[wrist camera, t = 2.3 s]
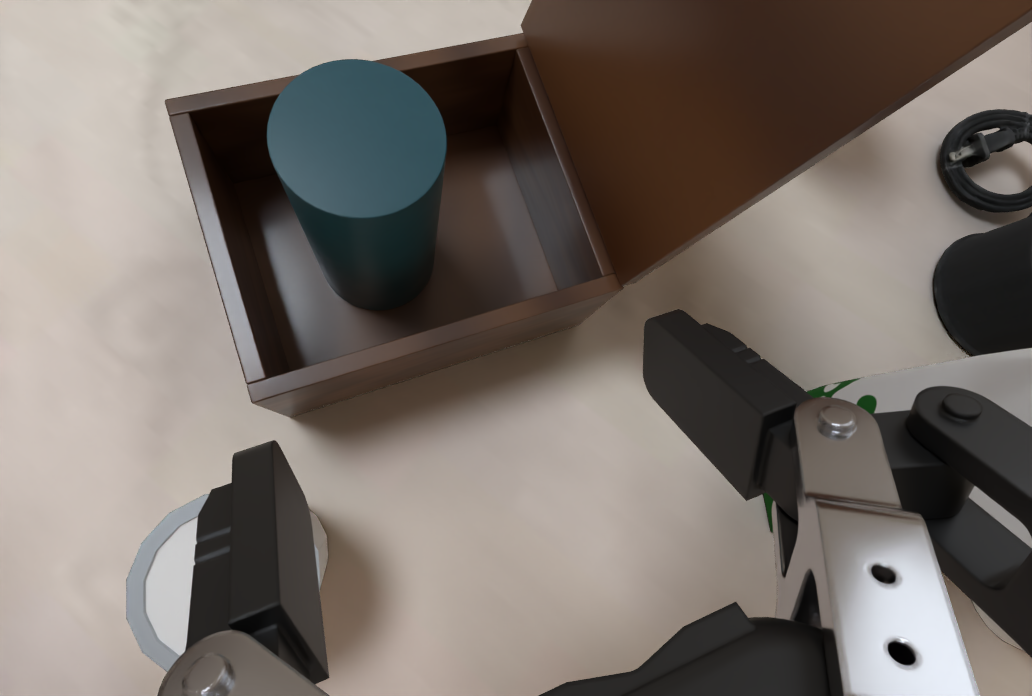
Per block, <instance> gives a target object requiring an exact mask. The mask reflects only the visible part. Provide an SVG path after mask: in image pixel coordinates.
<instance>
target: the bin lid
mask: <svg viewBox="0 0 1032 696" xmlns="http://www.w3.org/2000/svg"><path fill="white" fill-rule="evenodd" d="M1030 22H1032V0H532V2H531V4H530V6H529V8H528V10H527V13H526V15H525V17H524V19H523V21H522V24H521V27H522V30H523V33H524V35H525V38H526V40H527V43H528V46H529V48H530V51H531V53H532V56H533V59H534V61H535V64H536V66H537V69H538V72H539V74H540V77H541V79H542V82H543V85H544V87H545V90H546V92H547V95H548V97H549V100H550V103H551V105H552V108H553V110H554V113H555V116H556V118H557V121H558V123H559V126H560V129H561V131H562V134H563V136H564V139H565V142H566V144H567V147H568V149H569V152H570V155H571V157H572V160H573V162H574V165H575V168H576V170H577V173H578V175H579V178H580V181H581V183H582V186H583V188H584V191H585V193H586V196H587V199H588V201H589V204H590V206H591V209H592V212H593V214H594V217H595V219H596V222H597V225H598V227H599V230H600V232H601V235H602V238H603V240H604V243H605V245H606V248H607V251H608V253H609V256H610V258H611V261H612V264H613V266H614V269H615V271H616V274H617V277H618V279H619V282H620V284H621V286H625V285H629V284H633V283H636V282H637V281H639V280H640V279H642V278H643V277H645V276H646V275H648V274H649V273H651V272H652V271H654V270H655V269H657V268H658V267H660V266H661V265H663V264H664V263H666V262H667V261H669V260H670V259H672V258H673V257H675V256H677V255H678V254H680V253H681V252H683V251H684V250H686V249H687V248H689V247H690V246H692V245H693V244H695V243H696V242H698V241H699V240H701V239H702V238H704V237H705V236H707V235H708V234H710V233H711V232H713V231H714V230H716V229H717V228H719V227H721V226H722V225H724V224H725V223H727V222H728V221H730V220H731V219H733V218H734V217H736V216H737V215H739V214H740V213H742V212H743V211H745V210H746V209H748V208H749V207H751V206H752V205H754V204H755V203H757V202H758V201H760V200H762V199H763V198H765V197H766V196H768V195H769V194H771V193H772V192H774V191H775V190H777V189H778V188H780V187H781V186H783V185H784V184H786V183H787V182H789V181H790V180H792V179H793V178H795V177H796V176H798V175H799V174H801V173H803V172H804V171H806V170H807V169H809V168H810V167H812V166H813V165H815V164H816V163H818V162H819V161H821V160H822V159H824V158H825V157H827V156H828V155H830V154H831V153H833V152H834V151H836V150H837V149H839V148H840V147H842V146H844V145H845V144H847V143H848V142H850V141H851V140H853V139H854V138H856V137H857V136H859V135H860V134H862V133H863V132H865V131H866V130H868V129H869V128H871V127H872V126H874V125H875V124H877V123H878V122H880V121H881V120H883V119H885V118H886V117H888V116H889V115H891V114H892V113H894V112H895V111H897V110H898V109H900V108H901V107H903V106H904V105H906V104H907V103H909V102H910V101H912V100H913V99H915V98H916V97H918V96H919V95H921V94H922V93H924V92H926V91H927V90H929V89H930V88H932V87H933V86H935V85H936V84H938V83H939V82H941V81H942V80H944V79H945V78H947V77H948V76H950V75H951V74H953V73H954V72H956V71H957V70H959V69H960V68H962V67H963V66H965V65H966V64H968V63H970V62H971V61H973V60H974V59H976V58H977V57H979V56H980V55H982V54H983V53H985V52H986V51H988V50H989V49H991V48H992V47H994V46H995V45H997V44H998V43H1000V42H1001V41H1003V40H1004V39H1006V38H1007V37H1009V36H1011V35H1012V34H1014V33H1015V32H1017V31H1018V30H1020V29H1021V28H1023V27H1024V26H1026V25H1027V24H1029V23H1030Z"/></svg>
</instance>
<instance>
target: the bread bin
mask: <svg viewBox="0 0 1032 696" xmlns="http://www.w3.org/2000/svg"><path fill="white" fill-rule="evenodd" d="M372 62H377V63H381V64H384V65H387V66H390V67H392V68H394V69H396V70H398V71H400V72H402V73H404V74H405V75H407V76H409V77H410V78H411V79H413V80H414V81H415V82H416V83H418V84H419V85H420V86H421V87H422V88H423V89H424V90H425V91H426V92H427V93H428V95H429V96H430V97H431V99H432V100H433V101H434V103H435V105H436V106H437V108H438V110H439V112H440V114H441V116H442V119H443V122H444V125H445V129H446V136H447V152H446V161H445V170H444V178H443V187H442V195H441V204H440V213H439V221H438V230H437V238H436V247H435V256H434V264H433V270H432V273H431V276H430V279H429V281H428V283H427V284H426V286H425V287H424V289H423V290H422V291H421V292H420V293H419V294H418V295H417V296H416V297H415V298H414V299H412V300H411V301H409V302H408V303H406V304H404V305H402V306H399V307H396V308H393V309H388V310H369V309H364V308H360V307H357V306H355V305H352V304H350V303H348V302H347V301H345V300H344V299H342V298H341V297H340V296H338V295H337V294H336V293H335V292H334V291H333V289H332V288H331V287H330V285H329V284H328V282H327V280H326V279H325V277H324V274H323V272H322V270H321V268H320V266H319V264H318V261H317V259H316V257H315V255H314V253H313V250H312V248H311V246H310V244H309V242H308V240H307V237H306V235H305V233H304V231H303V229H302V227H301V224H300V222H299V220H298V218H297V216H296V214H295V211H294V209H293V207H292V205H291V203H290V201H289V198H288V196H287V194H286V192H285V190H284V188H283V185H282V183H281V181H280V179H279V177H278V174H277V172H276V170H275V168H274V166H273V163H272V161H271V158H270V155H269V150H268V146H267V124H268V120H269V116H270V113H271V110H272V108H273V105H274V103H275V101H276V100H277V98H278V96H279V94H280V93H281V92H282V91H283V90H284V88H285V87H286V86H287V85H288V84H289V83H290V82H291V81H292V80H293V79H295V78H296V77H297V76H299V75H296V76H290V77H285V78H279V79H274V80H269V81H263V82H258V83H253V84H247V85H242V86H237V87H231V88H226V89H220V90H215V91H210V92H204V93H199V94H194V95H188V96H183V97H178V98H172V99H167V100H165V104H166V108H167V111H168V115H169V116H170V117H169V118H170V122H171V125H172V129H173V132H174V136H175V139H176V143H177V146H178V150H179V153H180V156H181V160H182V163H183V167H184V170H185V174H186V177H187V181H188V184H189V188H190V191H191V194H192V198H193V201H194V205H195V208H196V212H197V215H198V219H199V222H200V226H201V229H202V232H203V236H204V239H205V243H206V246H207V250H208V253H209V257H210V260H211V264H212V267H213V270H214V274H215V277H216V281H217V284H218V288H219V291H220V295H221V298H222V302H223V305H224V308H225V312H226V315H227V319H228V322H229V326H230V329H231V333H232V336H233V340H234V343H235V346H236V350H237V353H238V357H239V360H240V364H241V367H242V371H243V374H244V378H245V381H246V384H248V385H247V388H248V391H249V395H250V398H251V402H252V403H253V404H256V405H258V406H261V407H264V408H266V409H269V410H272V411H274V412H277V413H280V414H282V415H285V416H287V417H293V416H296V415H299V414H302V413H305V412H308V411H312V410H315V409H318V408H321V407H324V406H327V405H330V404H333V403H337V402H340V401H343V400H346V399H349V398H352V397H355V396H358V395H362V394H365V393H368V392H371V391H374V390H377V389H380V388H383V387H386V386H390V385H393V384H396V383H399V382H402V381H405V380H408V379H411V378H415V377H418V376H421V375H424V374H427V373H430V372H433V371H436V370H440V369H443V368H446V367H449V366H452V365H455V364H458V363H461V362H464V361H468V360H471V359H474V358H477V357H480V356H483V355H486V354H489V353H493V352H496V351H499V350H502V349H505V348H508V347H511V346H514V345H518V344H521V343H524V342H527V341H530V340H533V339H536V338H539V337H543V336H546V335H549V334H552V333H555V332H558V331H561V330H564V329H567V328H571V327H574V326H577V325H579V324H581V323H582V322H583V321H584V320H585V319H587V318H588V317H589V316H590V315H591V314H593V313H594V312H595V311H596V310H598V309H599V308H600V307H601V306H602V305H604V304H605V303H606V302H607V301H608V300H610V299H611V298H612V297H613V296H615V295H616V294H617V293H618V292H619V291H621V290H622V289H623V288H624V287H623V286H621V284H620V282H619V279H618V277H617V274H616V271H615V269H614V266H613V264H612V261H611V258H610V256H609V253H608V251H607V248H606V245H605V243H604V240H603V238H602V235H601V232H600V230H599V227H598V225H597V222H596V219H595V217H594V214H593V212H592V209H591V206H590V204H589V201H588V199H587V196H586V193H585V191H584V188H583V186H582V183H581V181H580V178H579V175H578V173H577V170H576V168H575V165H574V162H573V160H572V157H571V155H570V152H569V149H568V147H567V144H566V142H565V139H564V136H563V134H562V131H561V129H560V126H559V123H558V121H557V118H556V116H555V113H554V110H553V108H552V105H551V103H550V100H549V97H548V95H547V92H546V90H545V87H544V85H543V82H542V79H541V77H540V74H539V72H538V69H537V66H536V64H535V61H534V59H533V56H532V53H531V51H530V48H529V46H528V43H527V40H526V38H525V35H524V33H521V34H515V35H510V36H505V37H499V38H494V39H489V40H483V41H478V42H472V43H467V44H462V45H456V46H451V47H446V48H440V49H435V50H430V51H424V52H419V53H413V54H408V55H403V56H397V57H392V58H387V59H381V60H376V61H372Z"/></svg>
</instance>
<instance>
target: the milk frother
mask: <svg viewBox="0 0 1032 696" xmlns="http://www.w3.org/2000/svg"><path fill="white" fill-rule="evenodd" d="M993 128H1000V130H999V131H997V132H995V133H991V134H988V135H985V136H984V135H983V134H982V133H977V132H980V131H984V130H988V129H993ZM975 133H976V134H975ZM973 134H974V135H973ZM1023 141H1026V142H1028V143H1030V144H1032V115H1030V114H1028V113H1026V112H1020V111H1015V110H1005V109H1004V110H1001V109H997V110H987V111H983V112H979V113H976V114H974V115H971V116H969V117H968V118H966V119H964V120H963V121H961V122H959V123H958V124H957V125H956V126H955V127H954V128H952V129H951V130H950V132H949V133H948V134H947V135H946V137H945V139H944V141H943V144H942V148H941V152H940V163H941V168H942V173H943V175H944V178H945V180H946V182H947V184H948V186H949V187H950V189H951V190H952V191H953V193H954V194H955V195H956V196H957V197H958V198H959V199H960V200H961V201H963V202H965V203H967V204H968V205H970V206H972V207H974V208H977V209H979V210H985V211H988V212H1013V211H1019V210H1023V209H1026V208H1029V207H1031V206H1032V186H1031V187H1029V188H1028V189H1027V190H1025V191H1023V192H1021V193H1018V194H1012V195H1003V194H997V193H993V192H990V191H987V190H985V189H983V188H982V187H980V186H979V185H977V184H975V183H974V182H973V181H972V180H971V179H970V178H969V176H968V175H967V173H966V172H965V170H964V168H967V167H972V166H974V165H976V164H979V163H981V162H984V161H986V160H988V159H989V157H990V153H993V152H1001V151H1003V150H1005V149H1008V148H1010V147H1012V146H1013V144H1017V143H1020V142H1023ZM963 167H964V168H963ZM934 290H935V298H936V302H937V306H938V311H939V314H940V316H941V318H942V320H943V323H944V324H945V326H946V328H947V329H948V331H949V332H950V334H951V335H952V336H953V338H954V339H955V340H956V341H957V342H959V344H960V345H961V346H962V347H963V348H964V349H966V350H967V351H968V352H969V353H971V354H972V355H974V356H979V355H985V354H992V353H999V352H1005V351H1013V350H1020V349H1027V348H1032V213H1031V214H1030V215H1029V216H1028V217H1027V218H1025V219H1022V220H1020V221H1017V222H1014V223H1011V224H1009V225H1006V226H1003V227H1000V228H997V229H994V230H992V231H989V232H986V233H978V234H971V235H968V236H966V237H963V238H961V239H959V240H957V241H955V242H954V243H953V244H952V245H950V247H949V248H947V249H946V250H945V252H944V254H943V255H942V257H941V259H940V260H939V262H938V265H937V268H936V273H935V277H934Z"/></svg>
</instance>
